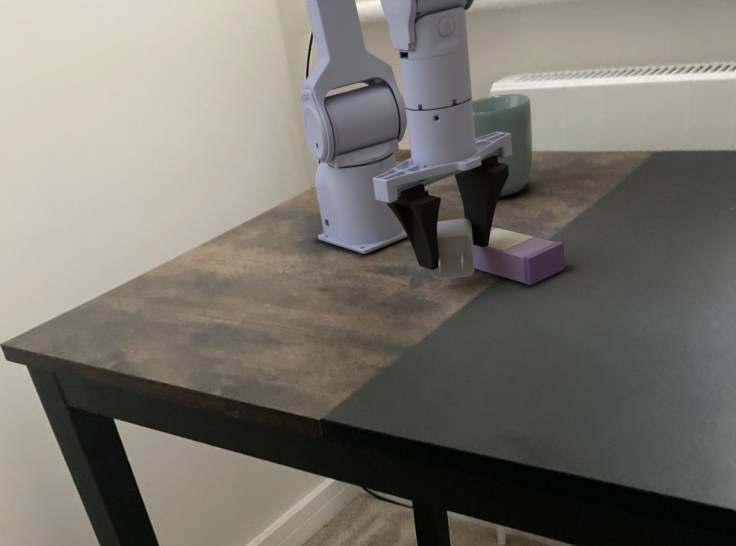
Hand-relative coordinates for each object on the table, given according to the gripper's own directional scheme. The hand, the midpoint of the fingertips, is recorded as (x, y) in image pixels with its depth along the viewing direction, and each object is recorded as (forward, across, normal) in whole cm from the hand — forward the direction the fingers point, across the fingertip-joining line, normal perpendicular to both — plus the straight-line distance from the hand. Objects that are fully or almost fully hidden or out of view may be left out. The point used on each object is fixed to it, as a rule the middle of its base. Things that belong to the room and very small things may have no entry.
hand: (453, 255), depth 84 cm
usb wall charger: (+2, -1, -1) cm, 2 cm away
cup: (+3, +22, +17) cm, 28 cm away
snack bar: (+3, +6, 0) cm, 7 cm away
